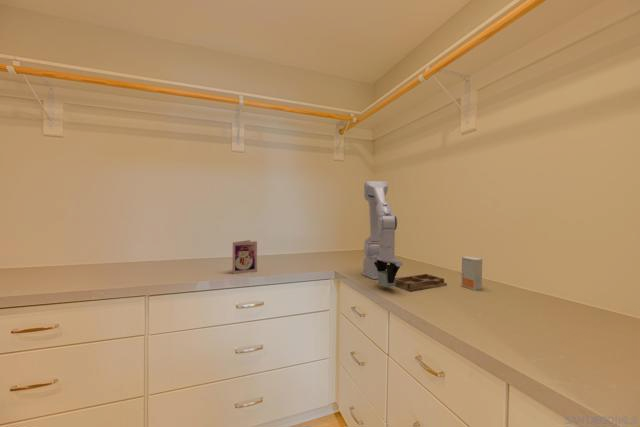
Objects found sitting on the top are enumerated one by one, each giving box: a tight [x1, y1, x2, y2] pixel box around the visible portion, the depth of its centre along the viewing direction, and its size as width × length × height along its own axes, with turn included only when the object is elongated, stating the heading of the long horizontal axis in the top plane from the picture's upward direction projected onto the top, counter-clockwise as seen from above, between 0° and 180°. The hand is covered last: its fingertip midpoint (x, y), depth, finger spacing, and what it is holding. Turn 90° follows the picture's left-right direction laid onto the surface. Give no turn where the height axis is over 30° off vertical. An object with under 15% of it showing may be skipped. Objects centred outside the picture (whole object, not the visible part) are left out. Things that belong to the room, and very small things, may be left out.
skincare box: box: [460, 255, 483, 291], centre depth 104 cm, size 6×4×12 cm
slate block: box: [377, 269, 396, 288], centre depth 101 cm, size 4×4×5 cm
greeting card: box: [232, 239, 258, 275], centre depth 128 cm, size 11×7×15 cm, turn 116°
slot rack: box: [394, 273, 448, 293], centre depth 107 cm, size 11×20×3 cm, turn 116°
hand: (386, 281), depth 101 cm, fingers closed on slate block, 4 cm apart
